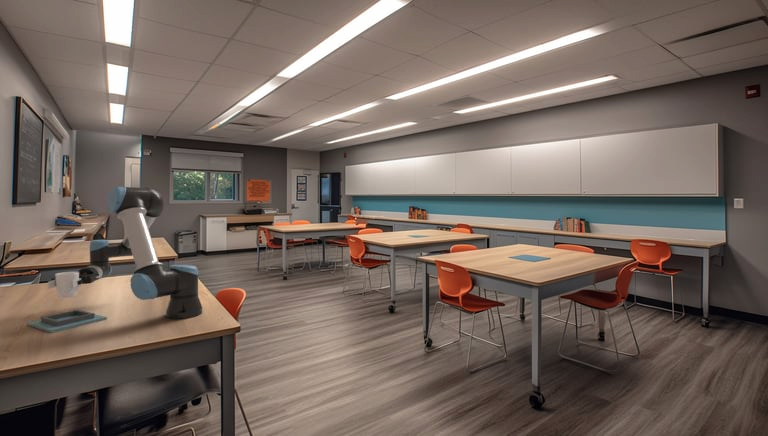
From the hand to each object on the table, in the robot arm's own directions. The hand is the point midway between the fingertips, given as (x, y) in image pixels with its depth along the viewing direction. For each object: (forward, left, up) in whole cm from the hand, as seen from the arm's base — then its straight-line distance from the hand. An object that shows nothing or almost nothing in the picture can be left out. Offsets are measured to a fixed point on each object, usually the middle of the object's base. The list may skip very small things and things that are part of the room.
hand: (60, 284), depth 156 cm
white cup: (+3, -4, -6) cm, 8 cm away
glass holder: (+3, -4, -17) cm, 18 cm away
